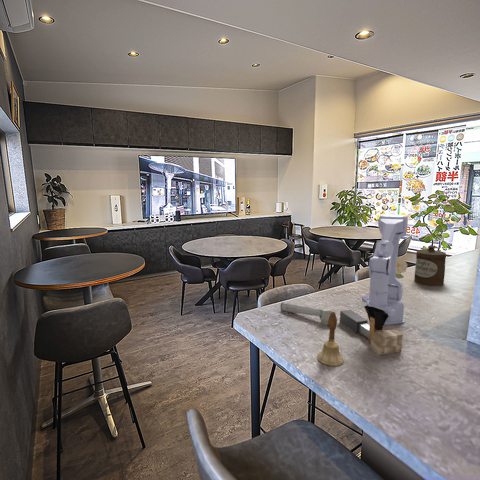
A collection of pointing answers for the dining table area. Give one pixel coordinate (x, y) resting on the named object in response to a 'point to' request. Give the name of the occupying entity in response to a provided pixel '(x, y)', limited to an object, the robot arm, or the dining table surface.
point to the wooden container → (430, 267)
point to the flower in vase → (400, 267)
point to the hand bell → (331, 346)
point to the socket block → (386, 341)
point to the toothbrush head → (307, 311)
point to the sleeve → (351, 320)
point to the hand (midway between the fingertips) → (376, 327)
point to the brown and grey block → (368, 327)
